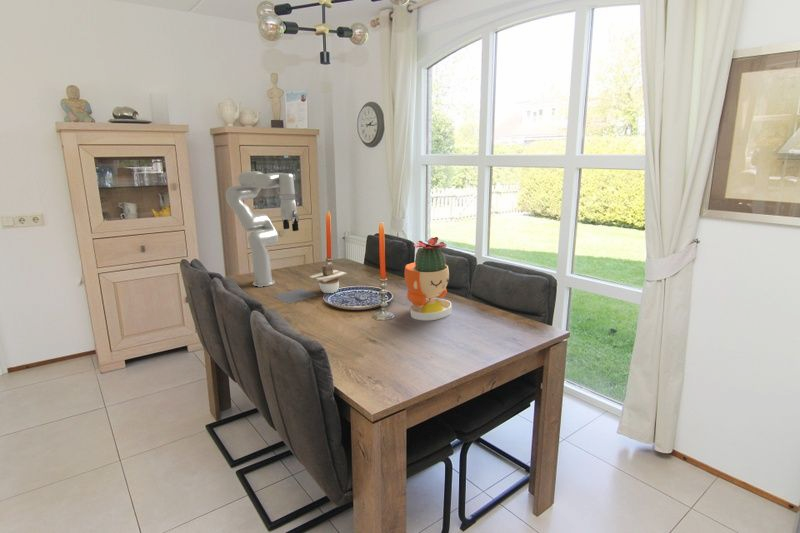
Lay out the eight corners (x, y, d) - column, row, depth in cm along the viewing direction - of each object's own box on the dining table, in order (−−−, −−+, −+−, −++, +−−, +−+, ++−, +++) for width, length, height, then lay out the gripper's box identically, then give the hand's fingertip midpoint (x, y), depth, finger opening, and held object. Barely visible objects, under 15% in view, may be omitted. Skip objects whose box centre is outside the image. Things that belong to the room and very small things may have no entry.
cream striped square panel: (271, 296, 244) (271, 295, 244) (301, 289, 255) (301, 288, 255) (288, 304, 231) (288, 303, 230) (318, 295, 242) (318, 295, 242)
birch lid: (309, 277, 245) (307, 267, 243) (332, 270, 254) (330, 260, 253) (324, 282, 234) (322, 271, 232) (348, 274, 243) (346, 264, 242)
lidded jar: (341, 289, 251) (340, 273, 249) (337, 296, 241) (336, 278, 238) (322, 289, 252) (321, 273, 250) (317, 296, 242) (316, 279, 240)
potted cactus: (460, 309, 214) (459, 236, 205) (429, 324, 198) (428, 245, 189) (424, 300, 228) (423, 231, 219) (393, 313, 212) (390, 239, 204)
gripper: (273, 197, 242) (276, 229, 246) (289, 199, 230) (292, 232, 234) (286, 195, 247) (289, 227, 251) (302, 197, 234) (305, 230, 239)
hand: (291, 229), depth 243 cm, fingers open, 9 cm apart
